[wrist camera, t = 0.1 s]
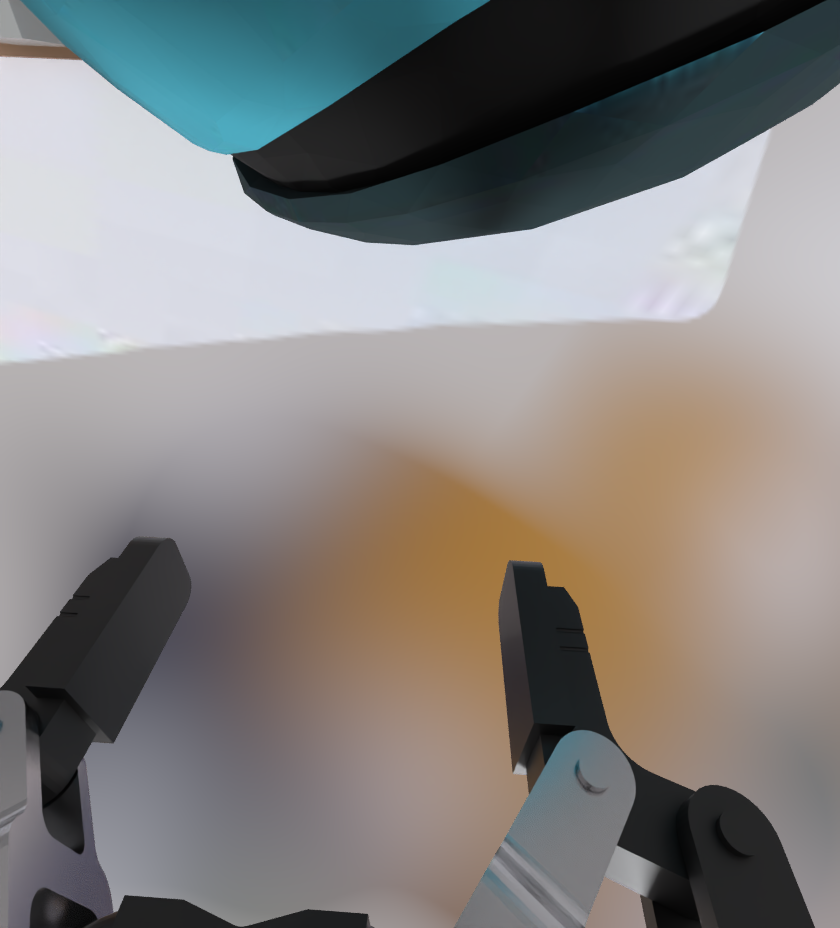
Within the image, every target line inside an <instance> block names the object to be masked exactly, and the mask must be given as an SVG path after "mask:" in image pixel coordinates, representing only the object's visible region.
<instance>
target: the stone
mask: <svg viewBox="0 0 840 928" xmlns="http://www.w3.org/2000/svg"><path fill="white" fill-rule="evenodd" d="M0 43H6V44H13V45H28V46H51V47H66V46H65V45H64V44H63V43H62V42H61V41H60V40H59V39H58V38H57V37H56V36H55V35H54V34H53V33H52V32H51V31H50V30H49V29H48V28H47V27H46V26H45V25H44V24H43V23H42V22H41V21H40V20H39V19H38V18H37V17H36V16H35V15H34V14H33V13H32V12H31V11H30V10H29V9H28V8H27V7H26V6H25V5H24V4H23V3H22V2H21V1H20V0H0Z"/></svg>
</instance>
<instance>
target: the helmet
mask: <svg viewBox="0 0 840 928" xmlns="http://www.w3.org/2000/svg"><path fill="white" fill-rule="evenodd" d="M20 1H21V2H22V3H23V4H24V5H25V6H26V7H27V8H28V9H29V10H30V11H31V12H32V13H33V14H34V15H35V16H36V17H37V18H38V19H39V20H40V21H41V22H42V23H43V24H44V25H45V26H46V27H47V28H48V29H49V30H50V31H51V32H52V33H53V34H54V35H55V36H56V37H57V38H58V39H59V40H60V41H61V42H62V43H63V44H64V45H65V46H66V47H67V48H69V49H70V50H71V51H72V52H73V53H75V54H76V55H77V56H78V57H79V58H81V59H82V60H83V61H84V62H86V63H87V64H88V65H89V66H90V67H92V68H93V69H94V70H95V71H96V72H98V73H99V74H100V75H101V76H103V77H104V78H105V79H106V80H107V81H109V82H110V83H111V84H112V85H113V86H115V87H116V88H117V89H118V90H120V91H121V92H122V93H124V94H125V95H127V96H128V97H129V98H131V99H132V100H134V101H135V102H136V103H138V104H139V105H140V106H142V107H143V108H145V109H146V110H147V111H149V112H150V113H152V114H153V115H154V116H156V117H157V118H158V119H160V120H161V121H163V122H164V123H165V124H167V125H168V126H170V127H171V128H172V129H174V130H175V131H176V132H178V133H179V134H181V135H182V136H183V137H185V138H186V139H187V140H189V141H190V142H192V143H193V144H195V145H197V146H200V147H202V148H204V149H206V150H208V151H212V152H217V153H221V154H226V155H227V154H231V155H232V156H233V162H234V165H235V167H236V170H237V173H238V176H239V179H240V182H241V185H242V188H243V190H244V193H245V194H246V195H247V196H249V197H250V198H251V199H252V200H254V201H255V202H256V203H257V204H259V205H260V206H261V207H262V208H264V209H265V210H266V211H267V212H269V213H271V214H273V215H275V216H278V217H280V218H283V219H285V220H288V221H291V222H293V223H296V224H298V225H301V226H304V227H306V228H309V229H312V230H316V231H320V232H325V233H329V234H333V235H337V236H341V237H346V238H350V239H354V240H358V241H363V242H368V243H385V244H403V245H419V244H426V243H433V242H441V241H448V240H455V239H463V238H470V237H478V236H485V235H492V234H500V233H507V232H514V231H522V230H529V229H534V228H537V227H540V226H543V225H546V224H548V223H551V222H554V221H557V220H560V219H563V218H566V217H569V216H572V215H575V214H577V213H580V212H583V211H586V210H589V209H592V208H595V207H598V206H601V205H604V204H607V203H609V202H612V201H615V200H618V199H621V198H624V197H627V196H630V195H633V194H636V193H639V192H641V191H644V190H647V189H650V188H653V187H656V186H659V185H662V184H665V183H668V182H671V181H673V180H676V179H679V178H682V177H684V176H686V175H688V174H690V173H691V172H693V171H695V170H697V169H699V168H700V167H702V166H704V165H706V164H708V163H709V162H711V161H713V160H715V159H717V158H718V157H720V156H722V155H724V154H726V153H727V152H729V151H731V150H733V149H735V148H736V147H738V146H740V145H742V144H744V143H745V142H747V141H749V140H751V139H752V138H754V137H756V136H758V135H760V134H761V133H763V132H765V131H767V130H768V129H770V128H772V127H774V126H775V125H777V124H779V123H781V122H782V121H784V120H786V119H787V118H789V117H791V116H793V115H795V114H796V113H798V112H800V111H802V110H803V109H805V108H807V107H808V106H810V105H812V104H813V103H815V102H816V101H817V100H819V99H820V98H821V97H823V96H824V95H825V94H827V93H828V92H829V91H830V90H832V89H833V88H834V87H835V86H837V85H838V84H839V83H840V0H20Z"/></svg>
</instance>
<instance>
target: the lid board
mask: <svg viewBox="0 0 840 928" xmlns="http://www.w3.org/2000/svg"><path fill="white" fill-rule="evenodd" d="M0 56H1V57H24V58H47V59H70V60H82V59H81V58H79V57H78V56H77V55H76V54H75V53H73V52H72V51H71V50H70V49H69V48H67V47H51V46H28V45H13V44H6V43H0Z"/></svg>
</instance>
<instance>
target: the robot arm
mask: <svg viewBox="0 0 840 928" xmlns="http://www.w3.org/2000/svg"><path fill="white" fill-rule="evenodd" d="M190 593H191V579H190V576H189V573H188V571H187V569H186V566H185V564H184V562H183V559H182V557H181V555H180V552H179V550H178V547H177V545H176V543H175V541H174V540H173V539H170V538H156V537H136V538H134V539H133V540H132V541H131V542H130V543H129V544H128V545H127V547H126V548H125V550H124V551H123V552H122V554H121V555H120V556H119V558H110V559H109V560H107V561H106V562H105V563H103V564H102V565H101V566H99V567H98V568H97V569H96V570H94V571H93V572H92V573H90V574H89V575H88V576H87V578H86V579H85V580H84V581H83V583H82V584H81V585H80V587H79V588H78V589H77V591H76V592H75V593H74V594H73V599H70V600H69V601H68V602H67V604H66V605H65V606H64V607H63V609H62V610H61V611H60V616H57V617H56V618H55V619H54V621H53V622H52V623H51V624H50V626H49V627H48V628H47V630H46V631H45V632H44V634H43V635H42V636H41V638H40V639H39V640H38V641H37V643H36V644H35V645H34V647H33V648H32V649H31V650H30V652H29V653H28V654H27V656H26V657H25V658H24V660H23V661H22V662H21V664H20V665H19V666H18V667H17V669H16V670H15V671H14V673H13V674H12V675H11V676H10V678H9V679H8V680H7V681H6V683H5V684H4V685H3V686H2V687H1V688H0V928H374V927H372V926H370V922H369V917H368V914H361V913H348V912H335V911H321V910H309V909H308V910H304V911H300V912H297V913H293V914H289V915H286V916H282V917H278V918H275V919H271V920H268V921H264V922H260V923H257V924H253V925H249V926H244V927H238V926H235V925H233V924H231V923H229V922H227V921H225V920H223V919H221V918H219V917H217V916H215V915H213V914H211V913H209V912H207V911H205V910H203V909H201V908H199V907H197V906H195V905H193V904H191V903H189V902H187V901H185V900H180V899H179V900H178V899H167V898H153V897H140V896H128V895H125V896H124V898H123V901H122V903H121V905H120V908H119V910H118V911H117V912H114V913H113V905H112V898H111V892H110V888H109V884H108V881H107V878H106V875H105V873H104V871H103V869H102V868H101V866H100V864H99V861H98V858H97V854H96V849H95V840H94V831H93V822H92V813H91V804H90V795H89V786H88V776H87V767H86V762H85V759H84V758H83V757H84V755H85V754H86V752H87V750H88V748H89V746H90V745H91V743H92V742H100V743H114V741H115V740H116V738H117V736H118V734H119V732H120V730H121V728H122V726H123V724H124V722H125V721H126V719H127V717H128V715H129V713H130V711H131V709H132V707H133V705H134V703H135V702H136V700H137V698H138V696H139V694H140V692H141V690H142V688H143V686H144V684H145V683H146V681H147V679H148V677H149V675H150V673H151V671H152V669H153V667H154V665H155V664H156V662H157V660H158V658H159V656H160V654H161V652H162V650H163V648H164V646H165V645H166V643H167V641H168V639H169V637H170V635H171V633H172V631H173V629H174V627H175V626H176V624H177V622H178V620H179V618H180V616H181V614H182V612H183V610H184V609H185V607H186V605H187V603H188V600H189V597H190ZM583 630H584V629H583V625H582V621H581V617H580V613H579V610H578V607H577V605H576V604H575V602H574V601H573V599H572V598H571V597H570V595H569V594H568V592H567V591H566V590H565V588H564V587H551V586H547V582H546V578H545V572H544V568H543V565H542V563H540V562H524V561H509V562H508V565H507V569H506V573H505V578H504V582H503V587H502V591H501V596H500V600H499V632H500V642H501V653H502V664H503V674H504V684H505V695H506V705H507V716H508V727H509V738H510V748H511V759H512V769H513V774H524V775H527V781H528V789H529V796H528V798H527V800H526V801H525V803H524V805H523V807H522V808H521V810H520V812H519V814H518V816H517V817H516V819H515V821H514V823H513V825H512V826H511V828H510V830H509V832H508V833H507V835H506V837H505V839H504V841H503V842H502V844H501V846H500V847H499V849H498V851H497V852H496V854H495V856H494V857H493V859H492V861H491V863H490V864H489V866H488V868H487V870H486V871H485V873H484V875H483V877H482V878H481V880H480V882H479V884H478V886H477V887H476V889H475V891H474V893H473V895H472V896H471V898H470V900H469V902H468V903H467V905H466V907H465V909H464V911H463V912H462V914H461V916H460V918H459V919H458V922H457V923H456V925H455V927H454V928H585V925H586V922H587V919H588V916H589V913H590V911H591V908H592V906H593V903H594V901H595V898H596V896H597V893H598V891H599V888H600V886H601V883H602V881H603V878H604V876H605V877H607V878H609V879H611V880H613V881H615V882H617V883H619V884H621V885H623V886H625V887H627V888H628V889H631V890H633V891H635V892H637V893H638V894H640V897H641V902H642V907H643V912H644V917H645V922H646V927H647V928H815V926H814V924H813V922H812V919H811V916H810V914H809V912H808V909H807V906H806V904H805V902H804V899H803V896H802V894H801V892H800V889H799V887H798V884H797V882H796V879H795V877H794V874H793V872H792V869H791V867H790V864H789V862H788V859H787V857H786V854H785V852H784V849H783V847H782V844H781V842H780V840H779V837H778V835H777V833H776V831H775V830H774V828H773V826H772V825H771V823H770V822H769V820H768V819H767V818H766V816H765V815H764V814H763V813H762V812H761V811H760V810H759V809H758V807H757V806H755V805H754V804H753V803H752V802H751V801H750V800H748V799H747V798H746V797H744V796H743V795H741V794H740V793H738V792H736V791H734V790H732V789H729V788H727V787H723V786H719V785H709V786H704V787H702V788H700V789H698V790H697V791H696V792H695V791H693V790H691V789H688V788H686V787H684V786H681V785H679V784H676V783H674V782H672V781H670V780H667V779H665V778H663V777H660V776H658V775H656V774H653V773H651V772H649V771H647V770H645V769H644V768H642V767H641V766H639V765H638V764H636V763H635V762H634V761H633V760H631V759H630V758H629V757H628V756H627V755H626V754H625V753H624V752H623V751H622V749H621V748H620V747H619V746H618V744H617V742H616V741H615V739H614V737H613V735H612V733H611V731H610V729H609V726H608V723H607V719H606V715H605V711H604V707H603V704H602V700H601V696H600V692H599V688H598V684H597V680H596V676H595V672H594V668H593V665H592V660H591V656H590V653H589V652H588V645H587V641H586V637H585V634H584V633H583Z"/></svg>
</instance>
